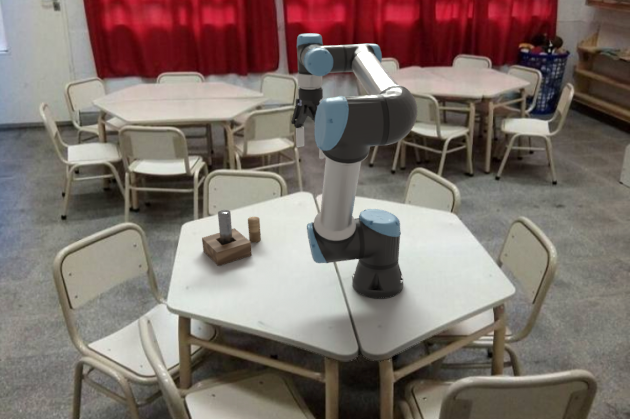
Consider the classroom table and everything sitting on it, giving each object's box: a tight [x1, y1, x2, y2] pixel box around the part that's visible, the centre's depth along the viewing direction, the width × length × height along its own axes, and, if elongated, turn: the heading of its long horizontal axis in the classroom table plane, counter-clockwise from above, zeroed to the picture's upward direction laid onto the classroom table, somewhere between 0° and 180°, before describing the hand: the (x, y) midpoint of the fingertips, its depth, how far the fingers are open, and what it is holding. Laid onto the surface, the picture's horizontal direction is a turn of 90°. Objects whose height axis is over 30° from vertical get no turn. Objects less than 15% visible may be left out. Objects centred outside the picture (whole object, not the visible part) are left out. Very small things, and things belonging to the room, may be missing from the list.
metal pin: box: [217, 209, 233, 245], centre depth 180 cm, size 4×4×14 cm
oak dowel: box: [247, 216, 262, 244], centre depth 190 cm, size 4×4×8 cm
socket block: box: [201, 228, 253, 267], centre depth 182 cm, size 12×12×5 cm
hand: (311, 152), depth 178 cm, fingers open, 13 cm apart
